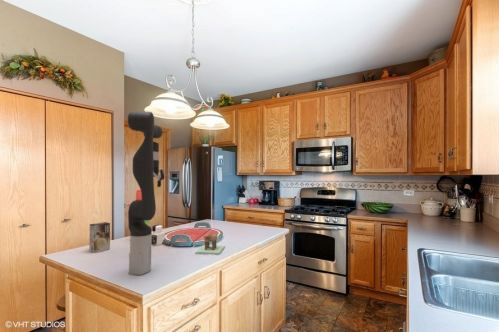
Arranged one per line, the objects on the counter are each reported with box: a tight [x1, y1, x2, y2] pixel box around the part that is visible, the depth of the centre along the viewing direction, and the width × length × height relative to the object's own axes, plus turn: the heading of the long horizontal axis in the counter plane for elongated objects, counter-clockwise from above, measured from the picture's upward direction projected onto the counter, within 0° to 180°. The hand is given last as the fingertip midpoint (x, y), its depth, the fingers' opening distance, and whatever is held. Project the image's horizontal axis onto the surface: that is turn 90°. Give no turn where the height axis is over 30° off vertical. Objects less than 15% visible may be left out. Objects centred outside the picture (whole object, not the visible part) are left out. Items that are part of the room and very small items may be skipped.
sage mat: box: [194, 244, 226, 256], centre depth 149 cm, size 14×14×1 cm
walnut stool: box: [204, 233, 218, 250], centre depth 149 cm, size 6×6×8 cm
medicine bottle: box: [151, 224, 166, 247], centre depth 164 cm, size 7×7×12 cm
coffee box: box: [88, 221, 111, 254], centre depth 150 cm, size 9×6×16 cm
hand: (151, 187), depth 148 cm, fingers open, 8 cm apart
